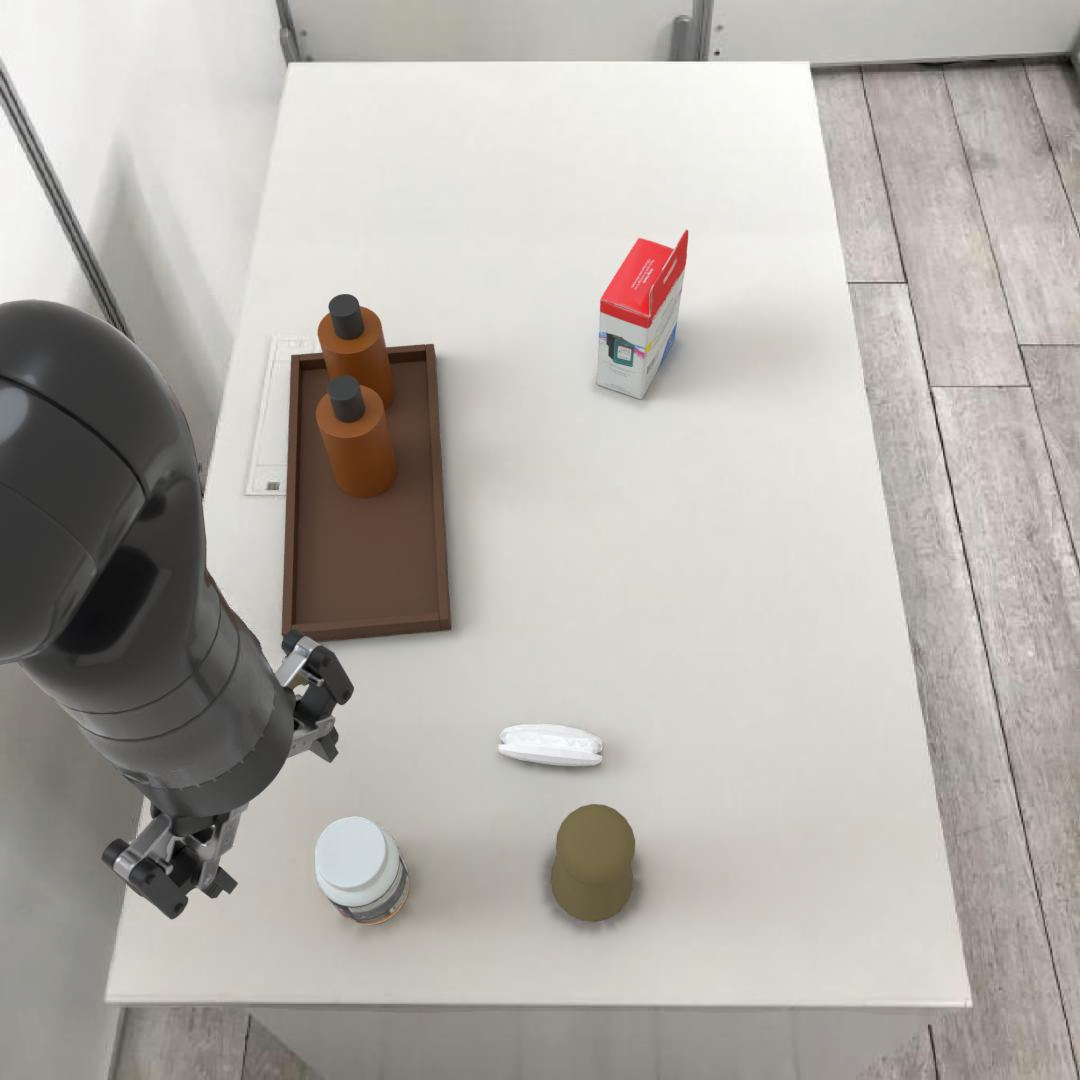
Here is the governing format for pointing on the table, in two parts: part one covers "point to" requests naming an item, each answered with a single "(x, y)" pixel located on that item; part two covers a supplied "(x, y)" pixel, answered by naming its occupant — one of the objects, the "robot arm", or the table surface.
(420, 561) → the tray
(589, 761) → the sub sandwich
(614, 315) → the ink box
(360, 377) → the amber bottle far
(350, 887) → the pill bottle
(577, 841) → the cork
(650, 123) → the table surface
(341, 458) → the amber bottle near
